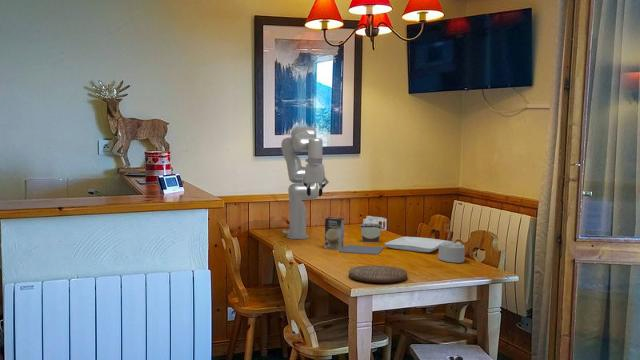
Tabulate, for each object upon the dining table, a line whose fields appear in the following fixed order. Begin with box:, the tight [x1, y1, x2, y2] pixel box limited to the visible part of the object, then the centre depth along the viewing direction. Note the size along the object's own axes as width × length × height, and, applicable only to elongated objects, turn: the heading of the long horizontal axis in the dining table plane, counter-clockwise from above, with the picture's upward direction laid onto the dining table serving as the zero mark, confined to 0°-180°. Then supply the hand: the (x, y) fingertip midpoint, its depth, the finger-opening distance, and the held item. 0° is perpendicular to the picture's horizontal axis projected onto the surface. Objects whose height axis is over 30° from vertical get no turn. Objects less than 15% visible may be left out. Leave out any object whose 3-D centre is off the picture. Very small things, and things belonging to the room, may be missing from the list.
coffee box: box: [324, 216, 345, 251], centre depth 326 cm, size 9×6×16 cm
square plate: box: [384, 236, 449, 253], centre depth 333 cm, size 27×27×4 cm
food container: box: [359, 223, 383, 244], centre depth 349 cm, size 12×6×10 cm, turn 84°
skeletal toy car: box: [362, 215, 388, 231], centre depth 397 cm, size 20×11×7 cm, turn 19°
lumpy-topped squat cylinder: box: [438, 240, 466, 264], centre depth 301 cm, size 10×13×9 cm
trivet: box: [348, 264, 408, 284], centre depth 266 cm, size 25×25×2 cm
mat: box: [338, 244, 385, 256], centre depth 323 cm, size 20×20×1 cm
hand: (314, 195), depth 327 cm, fingers open, 5 cm apart
